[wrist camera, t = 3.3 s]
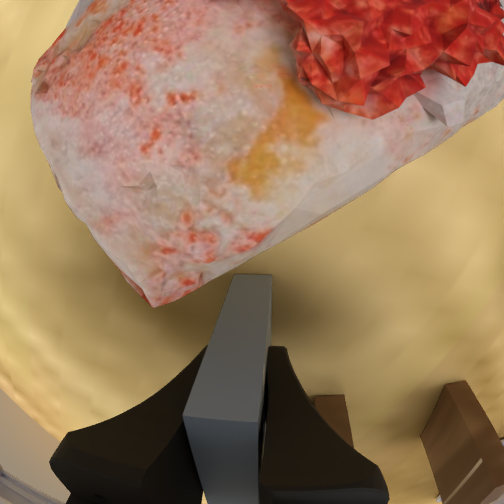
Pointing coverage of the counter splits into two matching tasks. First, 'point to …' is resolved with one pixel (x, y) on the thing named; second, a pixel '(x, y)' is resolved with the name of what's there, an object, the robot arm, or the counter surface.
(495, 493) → the domino
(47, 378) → the counter surface
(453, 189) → the counter surface
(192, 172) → the food item
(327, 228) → the counter surface
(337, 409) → the domino
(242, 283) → the placed domino
